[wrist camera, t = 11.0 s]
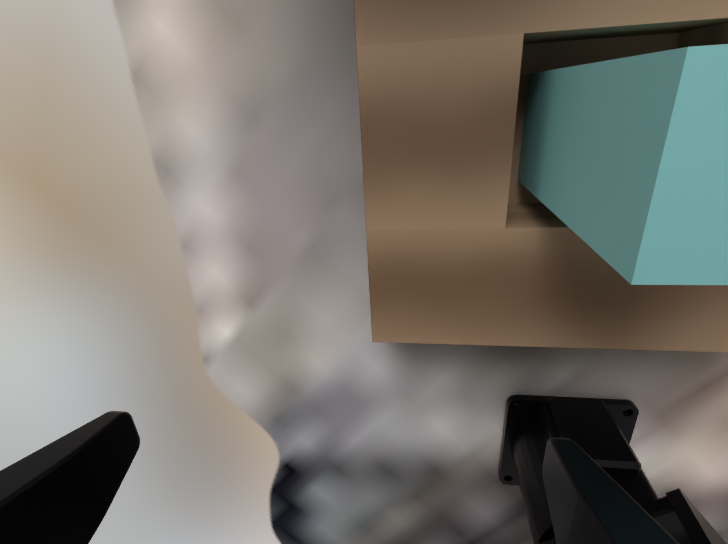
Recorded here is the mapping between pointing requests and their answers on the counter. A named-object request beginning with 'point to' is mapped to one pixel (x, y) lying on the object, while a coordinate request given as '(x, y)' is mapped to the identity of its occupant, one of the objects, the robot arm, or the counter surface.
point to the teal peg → (636, 160)
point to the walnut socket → (502, 177)
